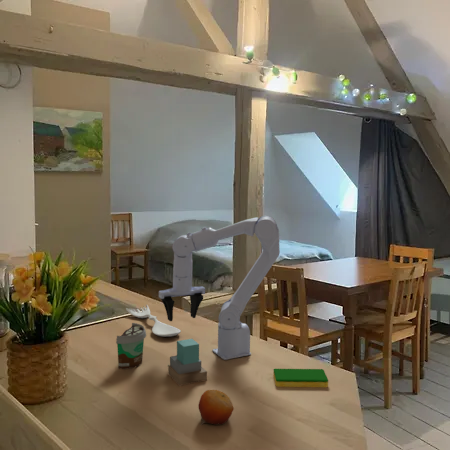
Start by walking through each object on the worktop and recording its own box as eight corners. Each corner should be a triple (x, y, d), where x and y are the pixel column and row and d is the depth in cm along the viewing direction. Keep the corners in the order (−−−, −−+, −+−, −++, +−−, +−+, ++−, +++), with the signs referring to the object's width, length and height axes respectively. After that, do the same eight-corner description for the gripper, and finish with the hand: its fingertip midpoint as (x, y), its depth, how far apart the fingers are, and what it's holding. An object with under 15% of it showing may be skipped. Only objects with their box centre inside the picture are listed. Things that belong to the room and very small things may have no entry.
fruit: (189, 406, 122) (207, 378, 121) (218, 421, 123) (235, 394, 122) (190, 424, 114) (209, 394, 113) (220, 440, 115) (239, 411, 114)
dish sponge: (328, 388, 136) (328, 380, 136) (275, 388, 136) (276, 379, 136) (322, 376, 143) (323, 368, 143) (273, 376, 143) (273, 368, 143)
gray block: (191, 361, 145) (191, 352, 145) (201, 369, 140) (201, 361, 139) (169, 365, 142) (169, 356, 142) (179, 374, 137) (179, 365, 136)
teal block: (191, 355, 143) (192, 338, 142) (198, 361, 139) (199, 343, 138) (176, 358, 141) (176, 341, 140) (183, 364, 137) (183, 346, 136)
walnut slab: (194, 370, 146) (194, 360, 146) (206, 381, 139) (206, 371, 139) (168, 375, 142) (168, 365, 142) (179, 387, 135) (179, 376, 135)
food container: (137, 372, 143) (137, 338, 141) (116, 370, 144) (116, 336, 142) (152, 355, 155) (152, 323, 153) (132, 354, 156) (132, 322, 154)
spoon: (147, 312, 197) (147, 303, 197) (185, 338, 170) (185, 328, 170) (124, 315, 193) (124, 306, 192) (160, 343, 166) (160, 333, 165)
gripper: (198, 270, 162) (197, 312, 164) (155, 274, 155) (154, 317, 157) (208, 275, 156) (207, 318, 158) (164, 279, 149) (163, 324, 151)
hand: (181, 318), depth 157 cm, fingers open, 7 cm apart
